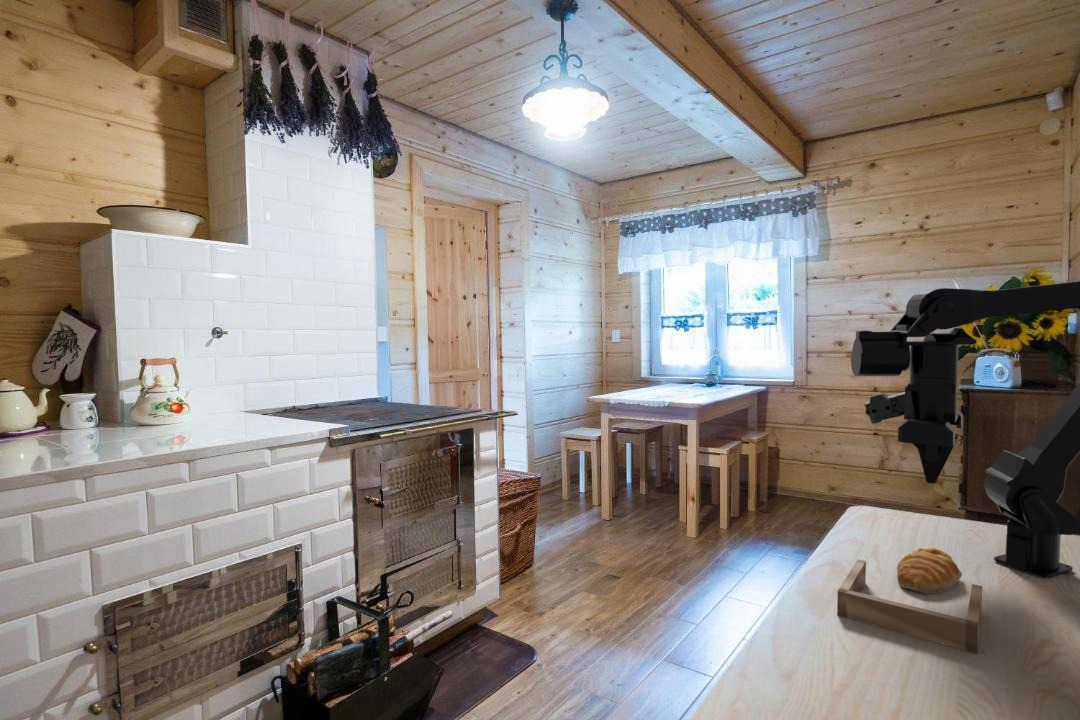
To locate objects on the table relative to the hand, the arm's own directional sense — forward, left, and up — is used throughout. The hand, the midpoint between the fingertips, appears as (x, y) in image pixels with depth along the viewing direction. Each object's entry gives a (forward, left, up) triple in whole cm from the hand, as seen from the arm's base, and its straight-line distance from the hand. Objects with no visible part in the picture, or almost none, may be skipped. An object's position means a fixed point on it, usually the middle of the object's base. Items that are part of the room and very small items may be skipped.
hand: (931, 482), depth 85 cm
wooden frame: (+17, +10, -11) cm, 22 cm away
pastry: (+7, +5, -12) cm, 15 cm away
